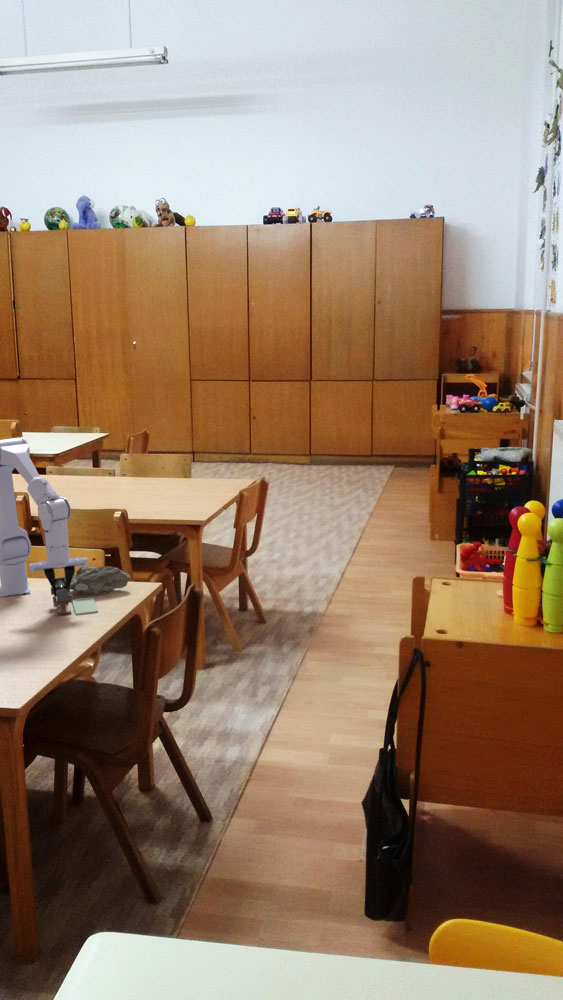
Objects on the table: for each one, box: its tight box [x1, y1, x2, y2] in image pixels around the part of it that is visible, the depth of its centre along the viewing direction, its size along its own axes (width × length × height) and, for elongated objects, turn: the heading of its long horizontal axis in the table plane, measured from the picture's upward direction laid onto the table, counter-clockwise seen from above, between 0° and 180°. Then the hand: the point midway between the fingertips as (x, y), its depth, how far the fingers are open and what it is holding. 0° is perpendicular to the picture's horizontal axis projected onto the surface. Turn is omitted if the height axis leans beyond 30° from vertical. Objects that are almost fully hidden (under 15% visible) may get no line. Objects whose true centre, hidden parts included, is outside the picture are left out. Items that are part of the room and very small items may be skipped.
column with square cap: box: [55, 576, 70, 602], centre depth 211 cm, size 12×3×3 cm, turn 19°
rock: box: [70, 565, 131, 595], centre depth 227 cm, size 18×10×10 cm
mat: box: [72, 596, 99, 616], centre depth 214 cm, size 12×6×1 cm, turn 19°
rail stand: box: [50, 586, 74, 617], centre depth 212 cm, size 10×5×5 cm, turn 19°
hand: (61, 595), depth 212 cm, fingers closed on column with square cap, 2 cm apart
